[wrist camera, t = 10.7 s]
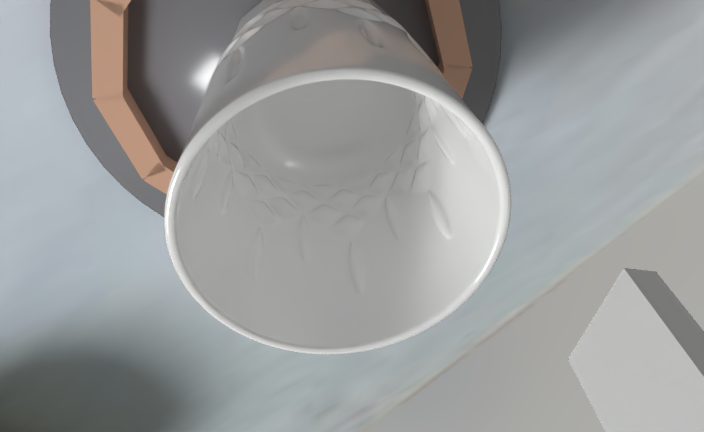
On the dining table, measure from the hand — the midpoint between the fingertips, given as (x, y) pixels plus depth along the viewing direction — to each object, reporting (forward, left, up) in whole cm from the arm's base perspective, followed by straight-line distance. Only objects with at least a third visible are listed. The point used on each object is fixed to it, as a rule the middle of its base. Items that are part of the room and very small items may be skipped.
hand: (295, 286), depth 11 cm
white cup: (0, +1, -12) cm, 12 cm away
